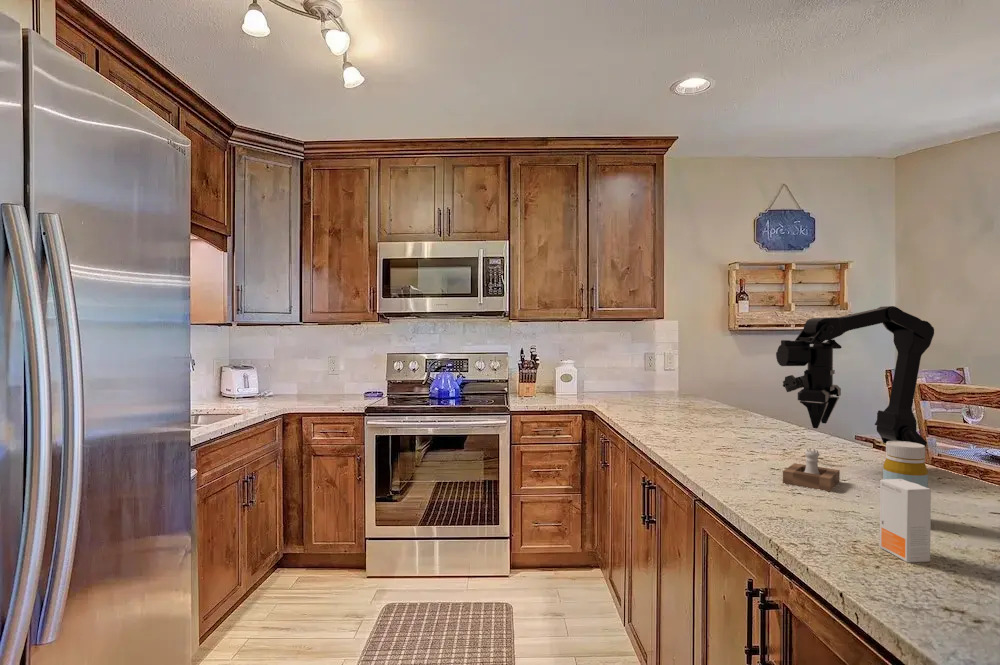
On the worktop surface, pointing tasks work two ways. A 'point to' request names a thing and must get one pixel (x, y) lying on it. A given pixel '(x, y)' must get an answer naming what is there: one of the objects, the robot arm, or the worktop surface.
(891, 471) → the bottle
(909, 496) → the skincare box
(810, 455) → the rook chess piece
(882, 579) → the worktop surface
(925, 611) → the worktop surface
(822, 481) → the socket
